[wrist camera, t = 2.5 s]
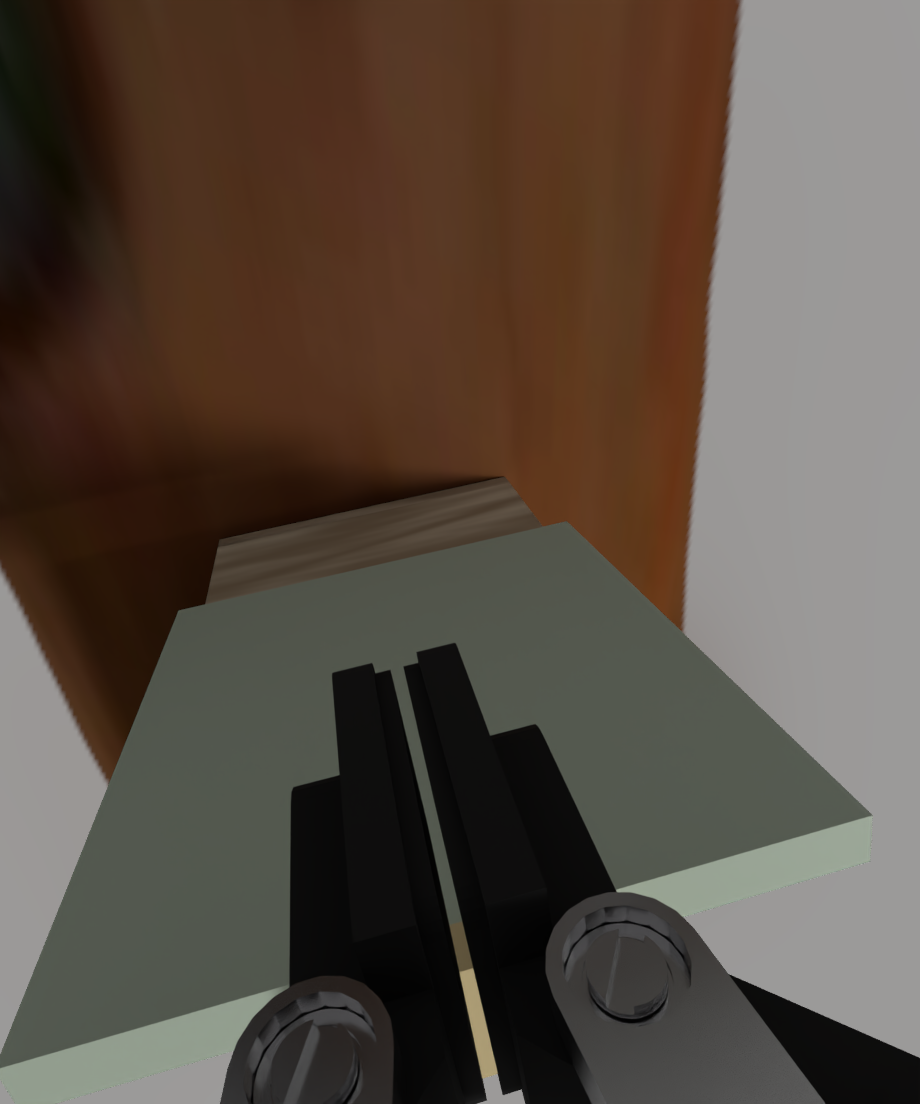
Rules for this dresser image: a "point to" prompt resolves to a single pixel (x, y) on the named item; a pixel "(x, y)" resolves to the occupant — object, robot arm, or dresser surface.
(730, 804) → the lid
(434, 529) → the box
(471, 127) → the dresser surface
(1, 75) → the dresser surface
